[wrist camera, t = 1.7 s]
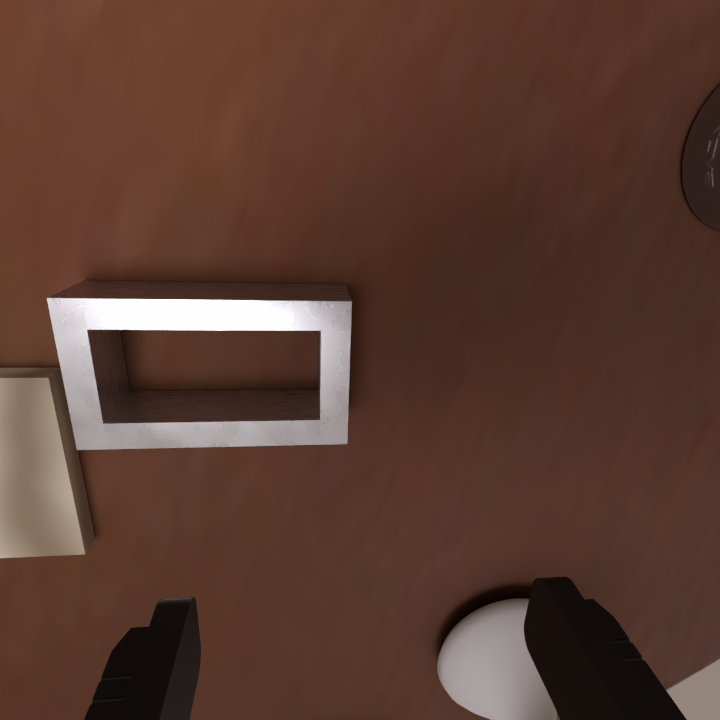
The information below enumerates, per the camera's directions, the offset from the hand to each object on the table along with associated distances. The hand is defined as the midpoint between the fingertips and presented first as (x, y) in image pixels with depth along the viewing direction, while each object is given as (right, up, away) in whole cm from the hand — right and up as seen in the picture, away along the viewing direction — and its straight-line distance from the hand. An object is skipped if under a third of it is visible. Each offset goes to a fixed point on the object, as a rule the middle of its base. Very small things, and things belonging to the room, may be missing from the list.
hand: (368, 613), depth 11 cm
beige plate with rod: (-25, 0, +17) cm, 30 cm away
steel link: (-8, +7, +17) cm, 19 cm away
